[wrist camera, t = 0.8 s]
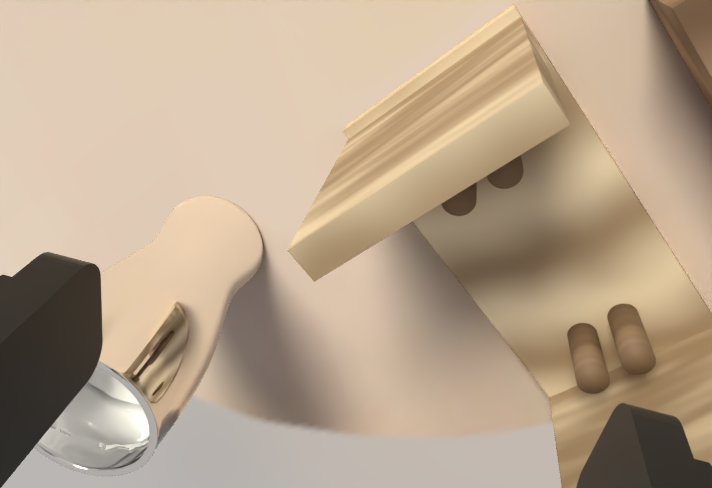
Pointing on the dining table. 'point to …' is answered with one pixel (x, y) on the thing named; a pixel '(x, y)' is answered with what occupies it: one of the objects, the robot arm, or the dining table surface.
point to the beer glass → (156, 337)
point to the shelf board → (690, 36)
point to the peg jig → (526, 234)
